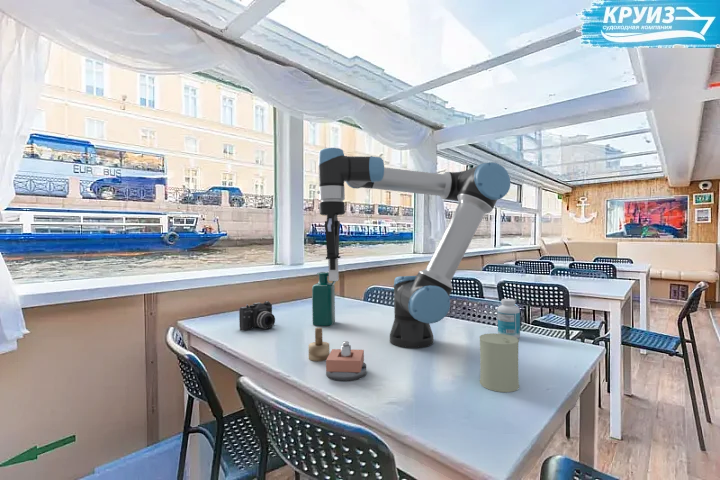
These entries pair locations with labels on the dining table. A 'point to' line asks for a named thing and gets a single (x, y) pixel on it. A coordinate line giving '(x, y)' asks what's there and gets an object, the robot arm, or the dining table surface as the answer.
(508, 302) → the pill bottle
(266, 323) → the camera
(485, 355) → the can
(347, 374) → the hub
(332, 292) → the green bottle
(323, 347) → the stand
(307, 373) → the dining table surface
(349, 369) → the terracotta clay block
